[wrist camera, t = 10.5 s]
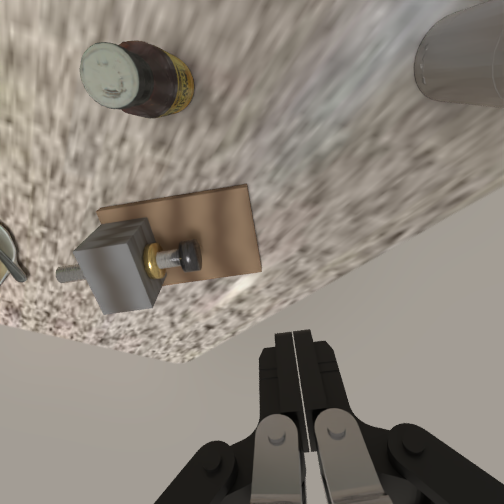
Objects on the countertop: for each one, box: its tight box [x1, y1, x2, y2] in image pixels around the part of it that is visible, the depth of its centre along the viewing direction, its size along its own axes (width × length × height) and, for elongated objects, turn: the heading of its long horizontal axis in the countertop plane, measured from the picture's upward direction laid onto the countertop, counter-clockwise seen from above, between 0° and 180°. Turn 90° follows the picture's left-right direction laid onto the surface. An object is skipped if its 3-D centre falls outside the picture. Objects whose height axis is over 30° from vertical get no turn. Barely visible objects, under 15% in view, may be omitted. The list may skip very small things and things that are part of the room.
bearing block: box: [73, 184, 262, 315], centre depth 45 cm, size 22×14×10 cm, turn 99°
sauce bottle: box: [80, 41, 194, 118], centre depth 30 cm, size 7×6×20 cm
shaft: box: [56, 239, 202, 283], centre depth 44 cm, size 20×5×5 cm, turn 99°
